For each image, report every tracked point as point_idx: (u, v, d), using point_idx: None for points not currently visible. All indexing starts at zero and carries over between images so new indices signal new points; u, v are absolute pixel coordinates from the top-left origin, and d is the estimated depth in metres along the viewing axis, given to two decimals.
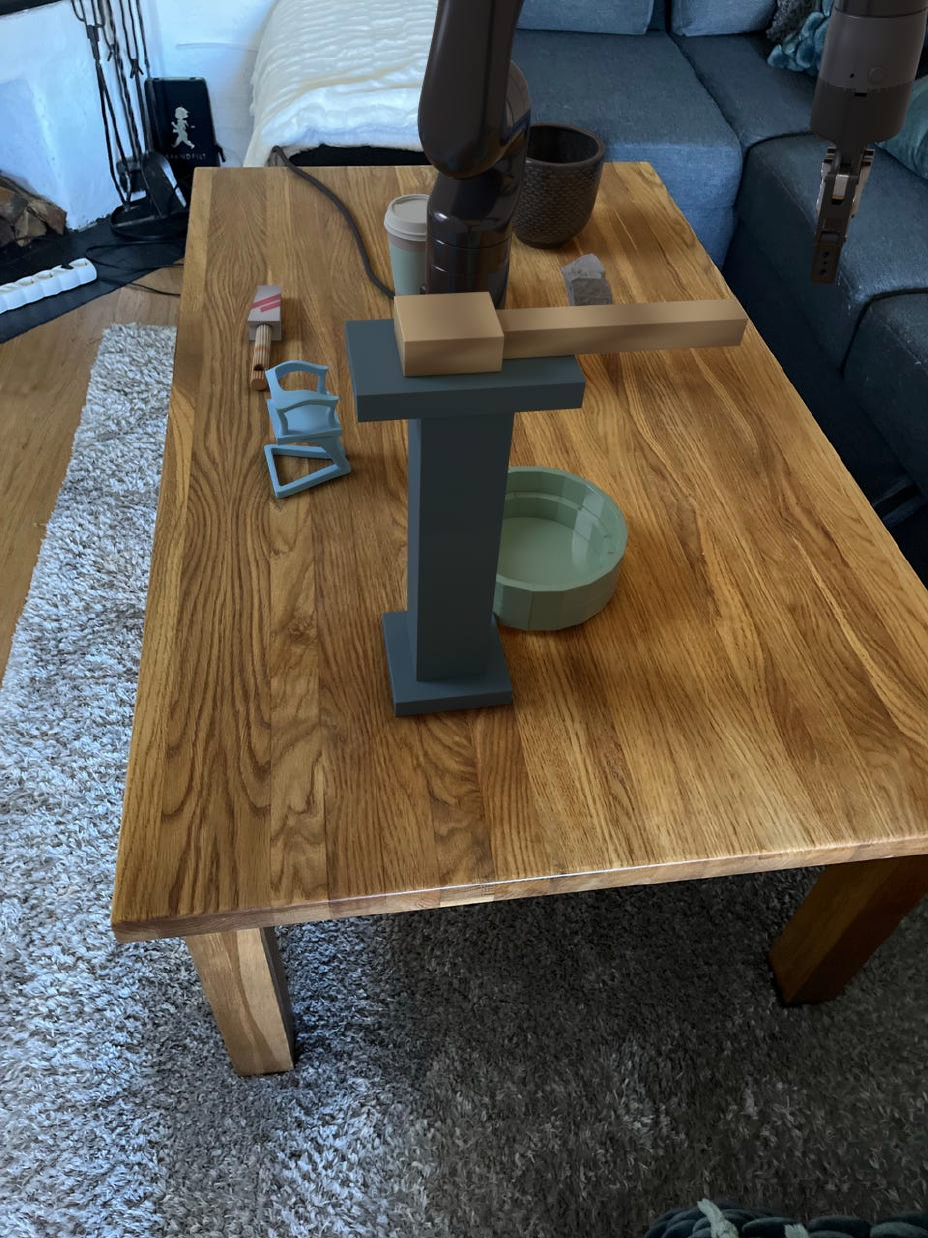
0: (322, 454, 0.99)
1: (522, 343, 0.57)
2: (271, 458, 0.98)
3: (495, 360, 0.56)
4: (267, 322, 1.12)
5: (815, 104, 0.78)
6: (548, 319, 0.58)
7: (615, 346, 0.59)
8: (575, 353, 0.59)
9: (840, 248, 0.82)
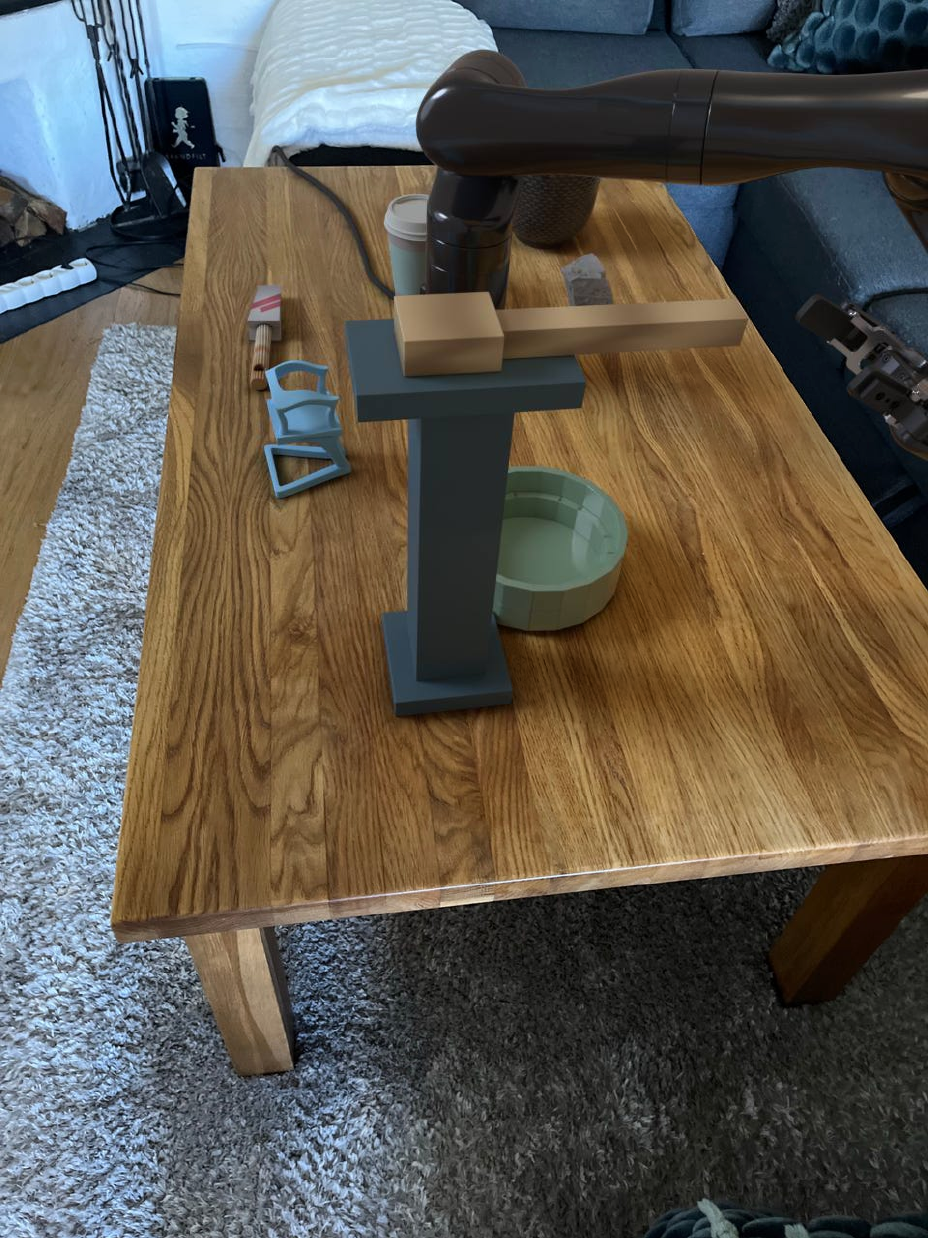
0: (322, 454, 0.99)
1: (522, 343, 0.57)
2: (271, 458, 0.98)
3: (495, 360, 0.56)
4: (267, 322, 1.12)
5: None
6: (548, 319, 0.58)
7: (615, 346, 0.59)
8: (575, 353, 0.59)
9: (880, 411, 0.62)
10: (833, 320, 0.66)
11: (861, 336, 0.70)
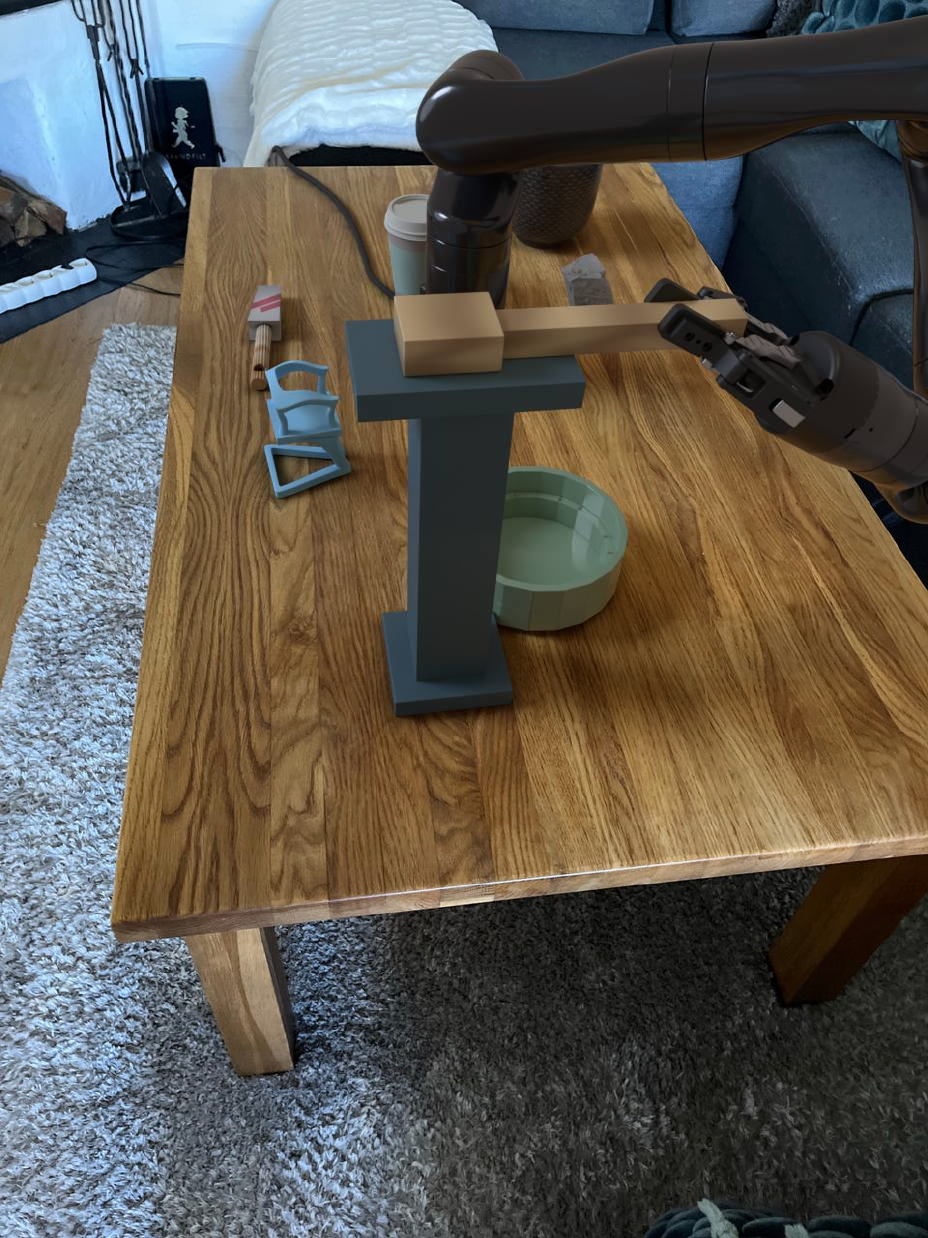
0: (322, 454, 0.99)
1: (522, 343, 0.57)
2: (271, 458, 0.98)
3: (495, 360, 0.56)
4: (267, 322, 1.12)
5: (860, 367, 0.63)
6: (548, 319, 0.58)
7: (615, 346, 0.59)
8: (575, 353, 0.59)
9: (696, 354, 0.59)
10: None
11: None
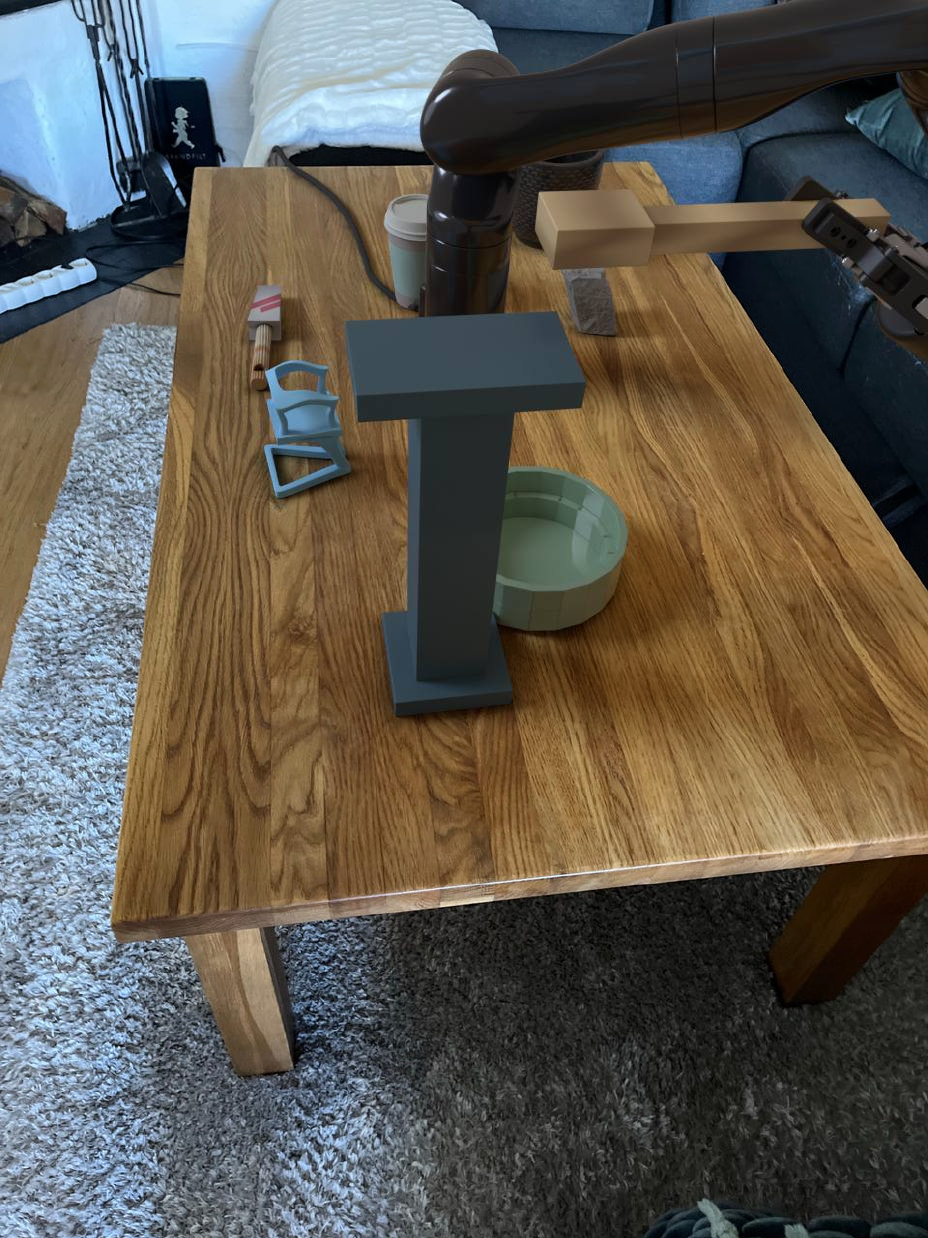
0: (322, 454, 0.99)
1: (668, 238, 0.57)
2: (271, 458, 0.98)
3: (643, 253, 0.56)
4: (267, 322, 1.12)
5: None
6: (693, 214, 0.57)
7: (758, 243, 0.59)
8: (718, 250, 0.58)
9: (837, 253, 0.59)
10: None
11: None
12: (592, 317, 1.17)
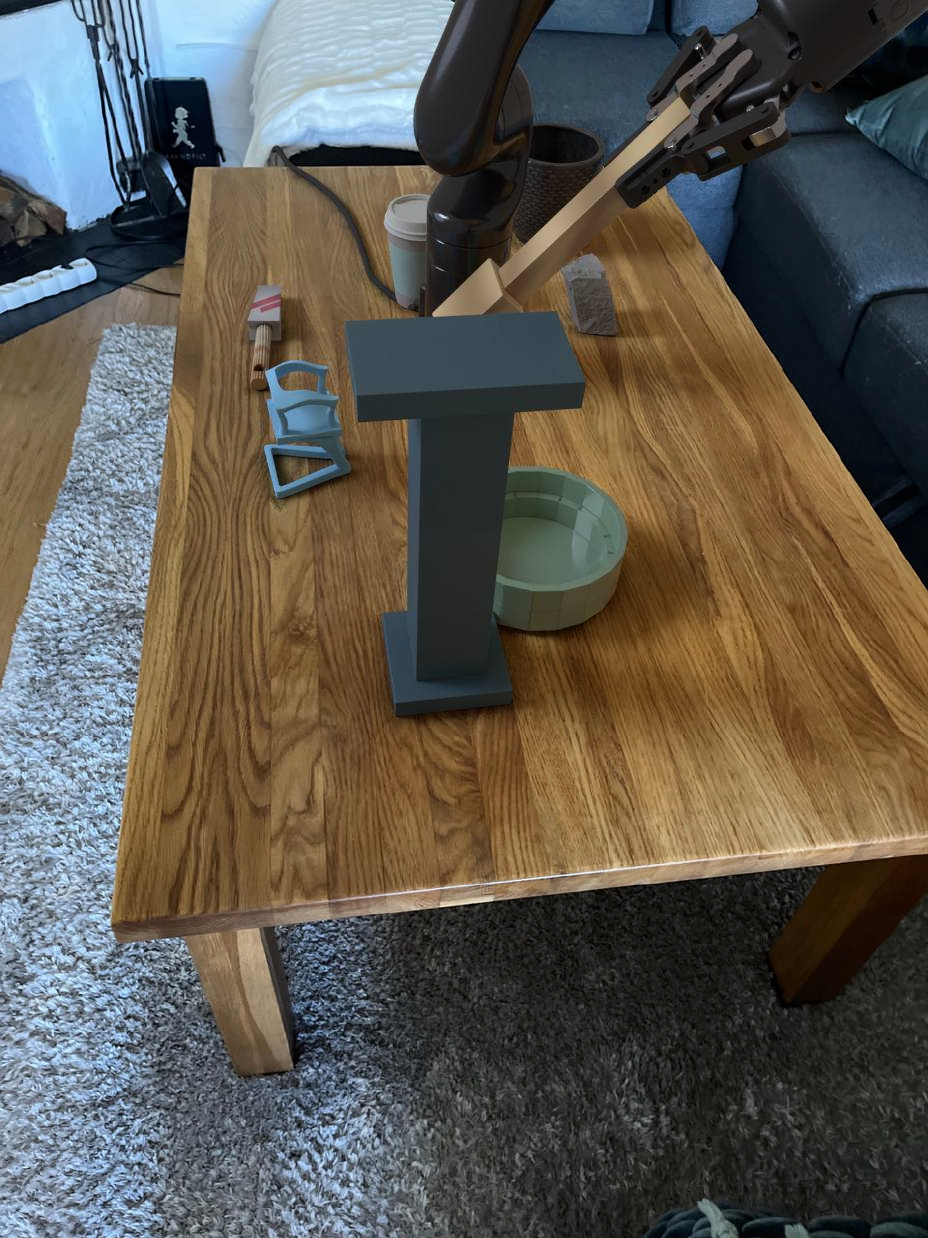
0: (322, 454, 0.99)
1: (527, 282, 0.66)
2: (271, 458, 0.98)
3: (513, 312, 0.66)
4: (267, 322, 1.12)
5: None
6: (535, 248, 0.65)
7: (600, 224, 0.63)
8: (574, 254, 0.65)
9: None
10: None
11: None
12: (592, 317, 1.17)
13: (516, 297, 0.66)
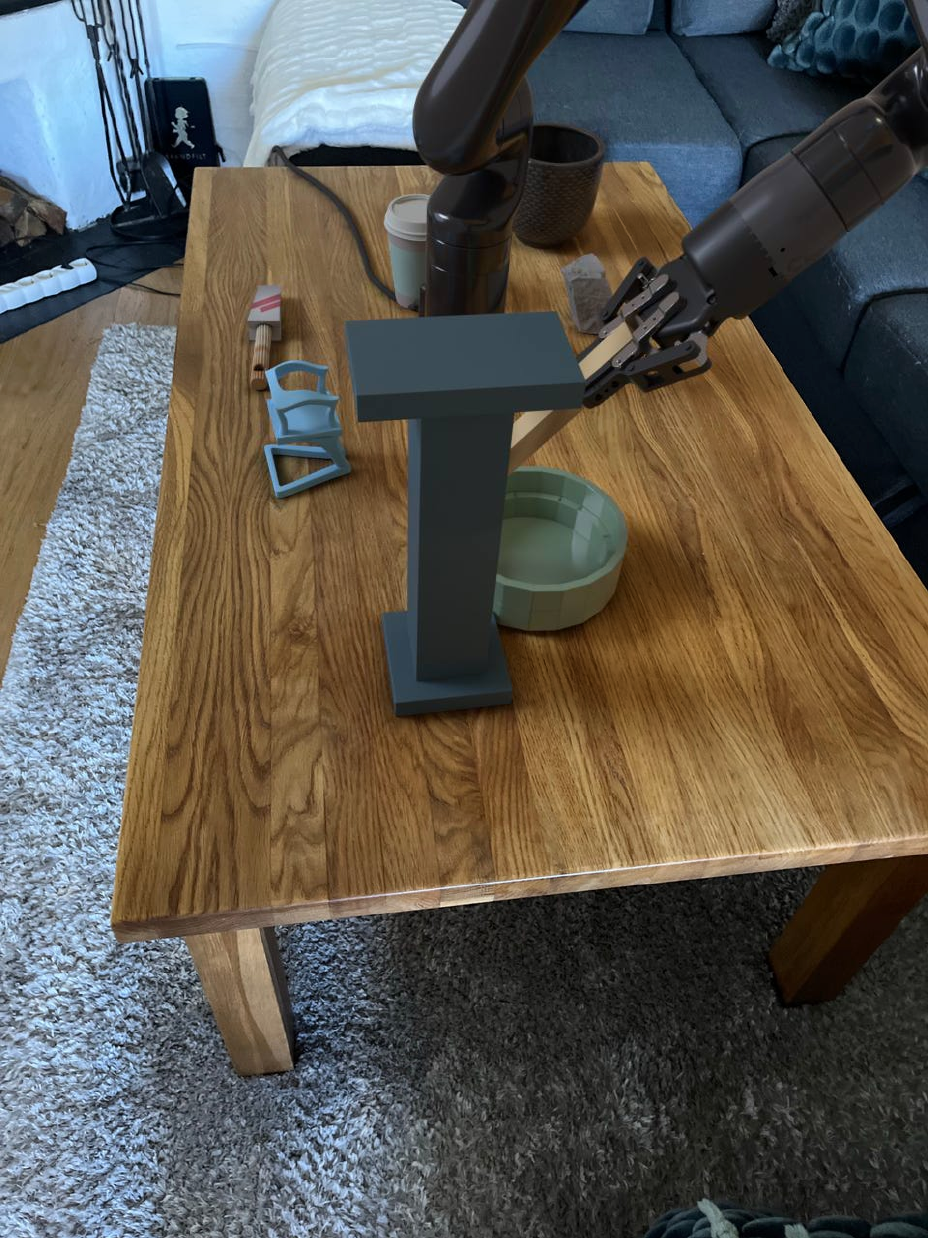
0: (322, 454, 0.99)
1: None
2: (271, 458, 0.98)
3: None
4: (267, 322, 1.12)
5: (718, 240, 0.66)
6: None
7: (564, 420, 0.76)
8: (544, 442, 0.77)
9: None
10: None
11: None
12: (592, 317, 1.17)
13: None
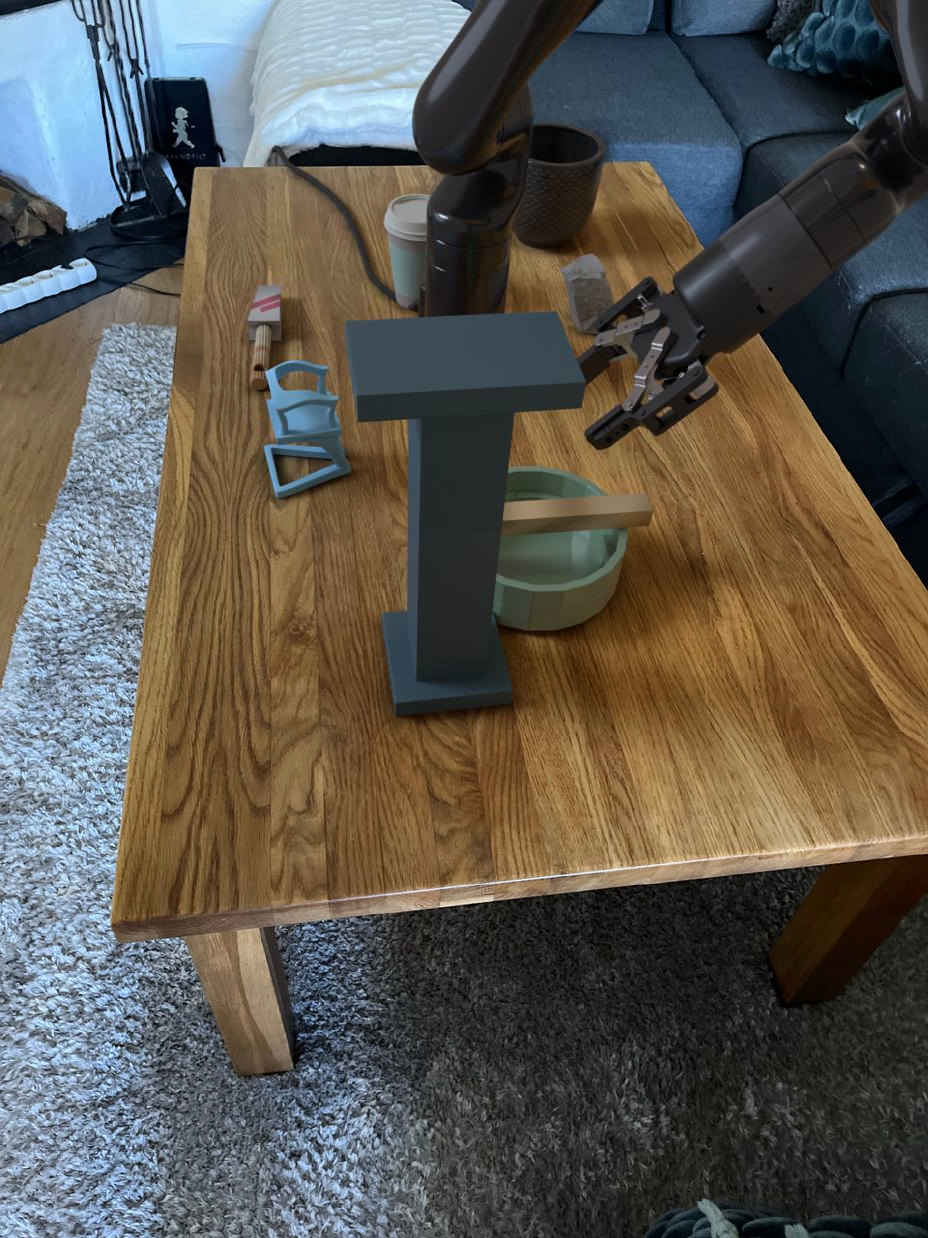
0: (322, 454, 0.99)
1: None
2: (271, 458, 0.98)
3: None
4: (267, 322, 1.12)
5: (708, 278, 0.68)
6: (515, 511, 0.84)
7: (561, 528, 0.85)
8: (533, 533, 0.85)
9: None
10: (589, 365, 0.78)
11: (632, 315, 0.78)
12: (592, 317, 1.17)
13: None
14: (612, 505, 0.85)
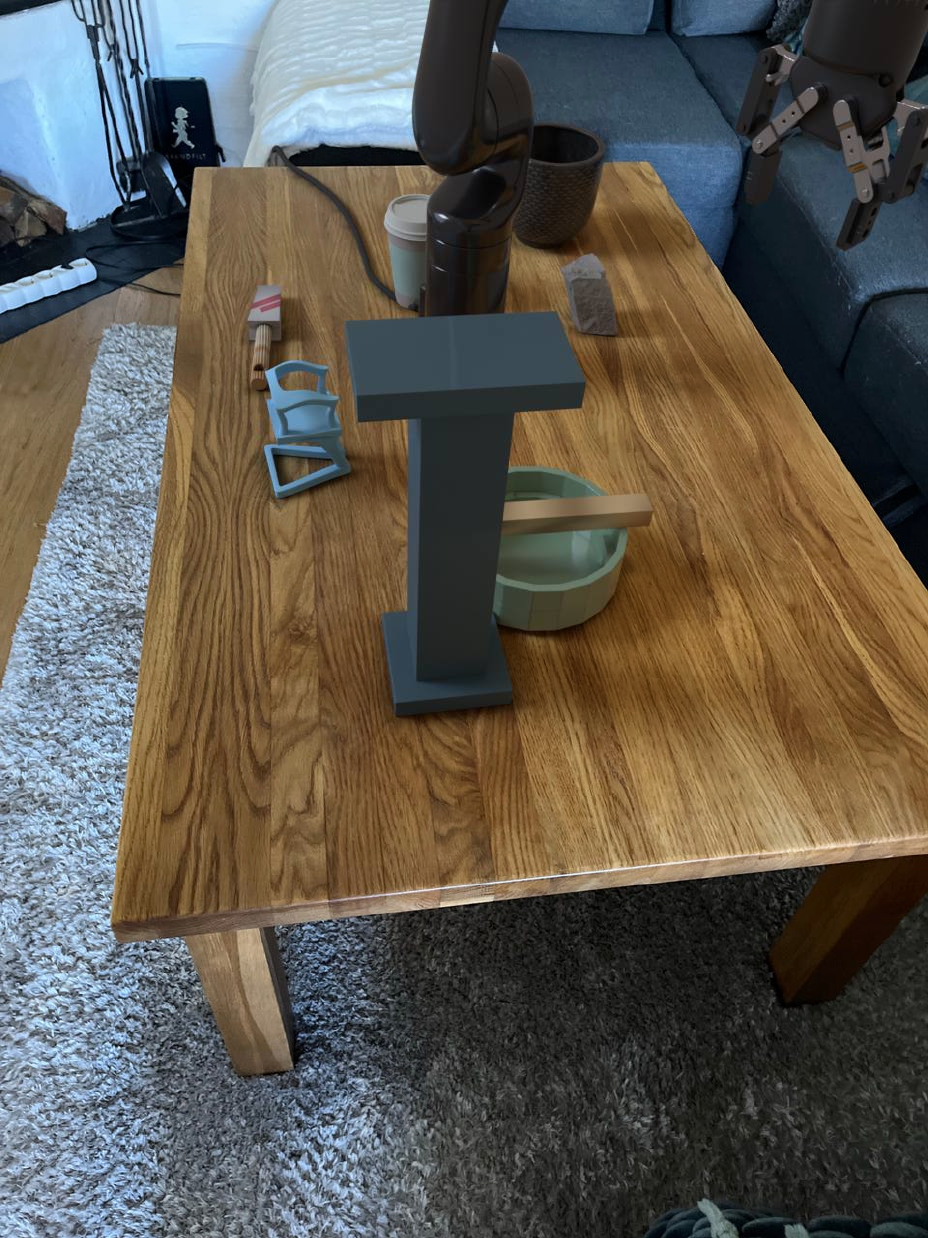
0: (322, 454, 0.99)
1: None
2: (271, 458, 0.98)
3: None
4: (267, 322, 1.12)
5: (857, 33, 0.59)
6: (515, 511, 0.84)
7: (561, 528, 0.85)
8: (533, 533, 0.85)
9: None
10: (767, 171, 0.72)
11: (769, 94, 0.69)
12: (592, 318, 1.17)
13: None
14: (612, 505, 0.85)
